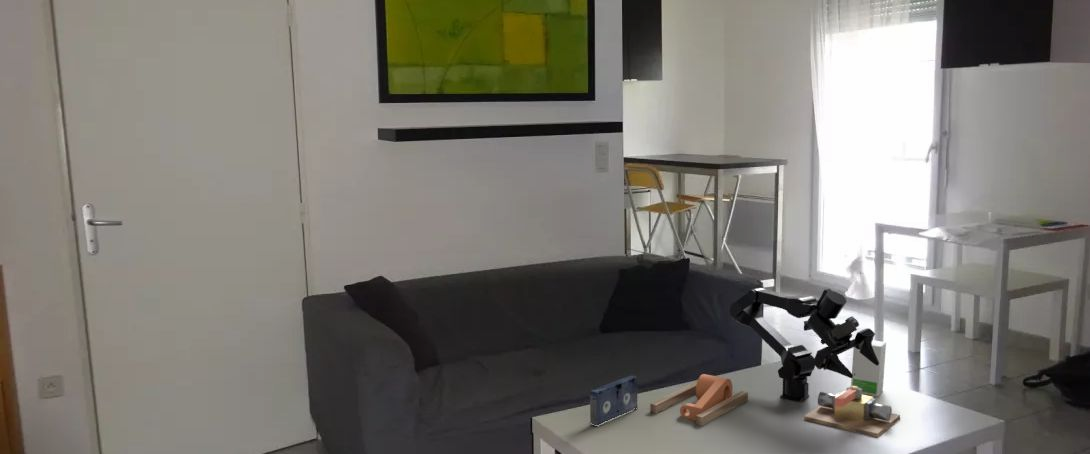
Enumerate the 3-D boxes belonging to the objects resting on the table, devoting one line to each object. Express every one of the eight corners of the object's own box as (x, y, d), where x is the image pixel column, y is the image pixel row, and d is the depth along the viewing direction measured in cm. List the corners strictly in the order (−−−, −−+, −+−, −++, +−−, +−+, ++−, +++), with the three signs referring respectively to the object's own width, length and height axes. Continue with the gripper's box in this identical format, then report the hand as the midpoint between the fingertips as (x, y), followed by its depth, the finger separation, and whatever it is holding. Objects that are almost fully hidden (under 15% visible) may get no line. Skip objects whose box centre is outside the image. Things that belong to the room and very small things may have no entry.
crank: (707, 396, 248) (708, 371, 247) (732, 401, 243) (732, 375, 242) (675, 416, 232) (675, 389, 231) (701, 422, 228) (701, 394, 226)
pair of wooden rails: (650, 412, 235) (650, 403, 235) (697, 388, 254) (697, 380, 254) (702, 426, 224) (702, 417, 224) (747, 400, 243) (748, 391, 243)
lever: (849, 392, 229) (850, 383, 229) (864, 395, 227) (864, 386, 226) (830, 405, 220) (831, 396, 219) (845, 408, 217) (846, 399, 217)
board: (804, 419, 227) (804, 416, 227) (829, 402, 240) (829, 399, 240) (877, 437, 214) (877, 433, 214) (899, 418, 227) (900, 415, 226)
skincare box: (850, 392, 248) (851, 342, 246) (855, 386, 254) (857, 337, 252) (879, 397, 244) (881, 346, 241) (884, 390, 249) (886, 340, 247)
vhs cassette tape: (631, 407, 240) (631, 374, 238) (639, 410, 237) (639, 376, 236) (588, 425, 227) (588, 390, 225) (596, 427, 225) (596, 392, 223)
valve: (815, 410, 231) (815, 393, 230) (825, 403, 236) (825, 386, 236) (884, 426, 219) (884, 408, 218) (893, 418, 224) (893, 401, 223)
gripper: (807, 323, 224) (846, 365, 214) (859, 300, 230) (900, 340, 220) (798, 348, 232) (835, 390, 222) (849, 325, 238) (888, 365, 228)
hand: (865, 370), depth 223 cm, fingers open, 9 cm apart
